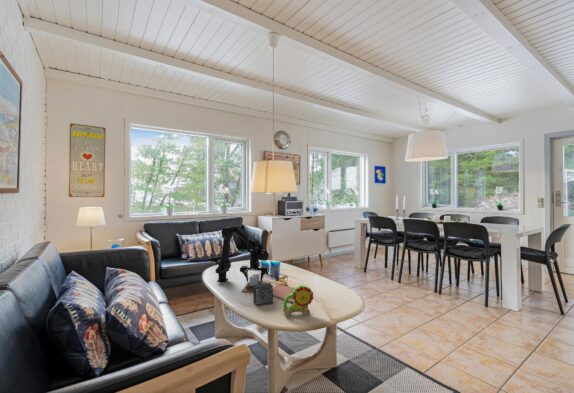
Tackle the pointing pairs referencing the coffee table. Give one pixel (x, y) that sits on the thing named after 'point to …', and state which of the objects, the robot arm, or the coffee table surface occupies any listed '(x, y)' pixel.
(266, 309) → the coffee table surface
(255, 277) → the key block
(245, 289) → the keyed nest
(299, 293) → the toy lion
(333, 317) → the coffee table surface
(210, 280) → the coffee table surface
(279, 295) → the notebook
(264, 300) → the small box
